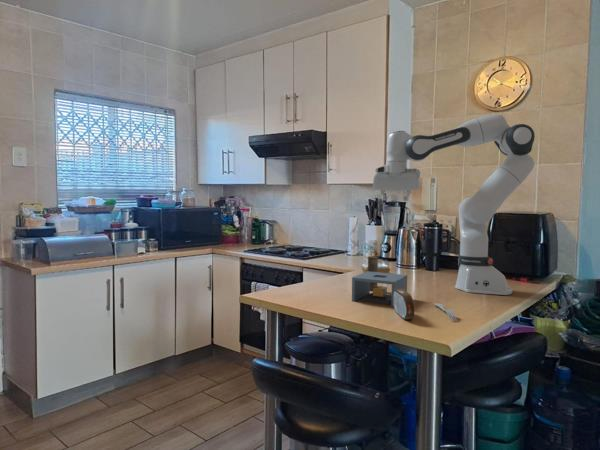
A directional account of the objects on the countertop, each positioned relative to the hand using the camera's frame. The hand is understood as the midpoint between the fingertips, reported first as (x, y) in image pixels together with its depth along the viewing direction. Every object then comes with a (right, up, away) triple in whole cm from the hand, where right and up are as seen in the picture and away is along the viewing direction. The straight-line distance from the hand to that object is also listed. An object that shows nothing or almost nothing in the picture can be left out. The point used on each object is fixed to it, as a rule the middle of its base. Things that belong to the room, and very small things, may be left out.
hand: (395, 200), depth 197 cm
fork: (+6, -41, -47) cm, 63 cm away
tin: (-9, -41, -51) cm, 66 cm away
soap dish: (-4, -36, +26) cm, 45 cm away
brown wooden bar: (-12, -38, -13) cm, 42 cm away
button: (-12, -37, -29) cm, 49 cm away
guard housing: (-12, -39, -29) cm, 50 cm away
